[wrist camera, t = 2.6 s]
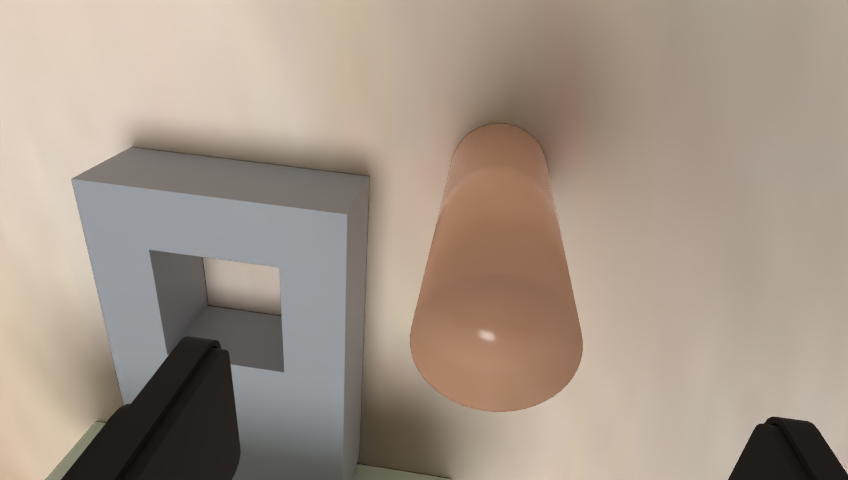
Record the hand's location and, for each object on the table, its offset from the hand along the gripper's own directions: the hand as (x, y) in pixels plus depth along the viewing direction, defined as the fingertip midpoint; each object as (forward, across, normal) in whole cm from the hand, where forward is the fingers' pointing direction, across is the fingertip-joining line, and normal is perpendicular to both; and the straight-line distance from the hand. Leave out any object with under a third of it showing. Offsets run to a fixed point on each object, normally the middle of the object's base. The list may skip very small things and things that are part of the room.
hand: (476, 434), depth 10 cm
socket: (+15, +10, +10) cm, 21 cm away
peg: (+15, -1, +1) cm, 15 cm away
